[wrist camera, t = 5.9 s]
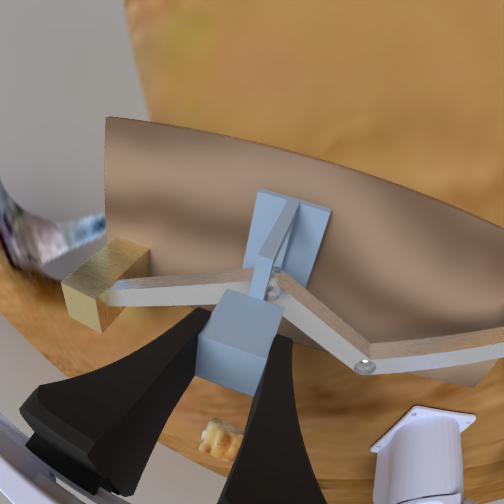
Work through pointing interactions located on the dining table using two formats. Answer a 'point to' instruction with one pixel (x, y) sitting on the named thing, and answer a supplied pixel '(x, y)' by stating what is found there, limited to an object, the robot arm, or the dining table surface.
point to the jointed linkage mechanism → (279, 292)
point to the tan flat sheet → (333, 241)
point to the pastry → (221, 440)
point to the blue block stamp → (259, 291)
